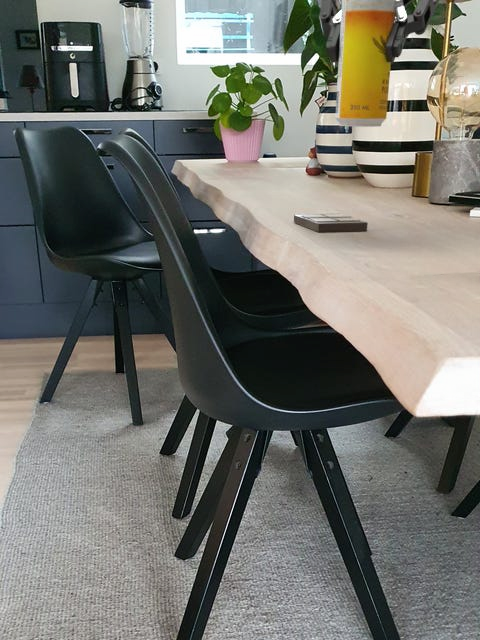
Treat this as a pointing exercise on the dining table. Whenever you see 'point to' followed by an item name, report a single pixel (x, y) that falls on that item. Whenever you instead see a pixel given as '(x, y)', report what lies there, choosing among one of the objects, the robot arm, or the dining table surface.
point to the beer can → (364, 62)
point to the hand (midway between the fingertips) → (361, 56)
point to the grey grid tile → (330, 222)
